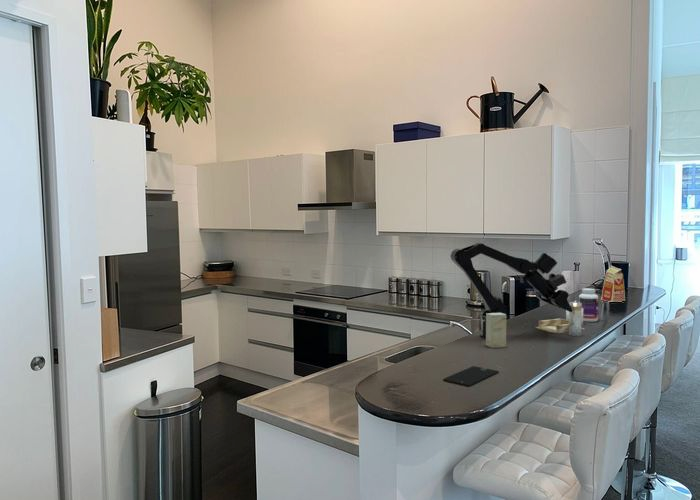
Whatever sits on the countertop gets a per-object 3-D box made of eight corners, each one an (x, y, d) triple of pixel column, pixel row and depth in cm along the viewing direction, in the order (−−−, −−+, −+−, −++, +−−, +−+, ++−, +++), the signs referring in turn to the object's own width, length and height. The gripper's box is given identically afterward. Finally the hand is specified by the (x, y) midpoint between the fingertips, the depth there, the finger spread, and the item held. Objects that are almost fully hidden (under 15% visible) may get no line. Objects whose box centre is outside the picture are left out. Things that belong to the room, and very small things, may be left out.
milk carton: (600, 301, 289) (601, 265, 287) (614, 300, 291) (614, 264, 290) (613, 303, 280) (614, 266, 279) (627, 302, 283) (627, 265, 282)
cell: (575, 336, 204) (575, 302, 203) (566, 334, 208) (566, 300, 208) (583, 335, 206) (584, 301, 205) (574, 333, 210) (574, 300, 210)
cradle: (555, 333, 210) (555, 326, 210) (535, 328, 221) (535, 321, 221) (584, 329, 216) (584, 322, 216) (564, 324, 227) (564, 318, 227)
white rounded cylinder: (575, 325, 224) (575, 309, 224) (562, 323, 231) (562, 307, 230) (586, 324, 227) (587, 308, 227) (573, 321, 234) (573, 305, 233)
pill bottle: (600, 322, 231) (600, 290, 230) (581, 322, 232) (581, 290, 231) (595, 319, 239) (595, 288, 238) (577, 318, 240) (577, 287, 239)
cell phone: (499, 373, 159) (499, 370, 159) (469, 388, 146) (469, 385, 146) (473, 368, 165) (473, 365, 165) (442, 382, 152) (442, 378, 152)
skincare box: (491, 348, 188) (491, 315, 188) (485, 345, 193) (485, 313, 192) (506, 346, 190) (507, 314, 189) (500, 344, 194) (500, 312, 194)
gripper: (563, 270, 196) (592, 298, 197) (542, 265, 215) (568, 291, 216) (543, 291, 196) (571, 319, 197) (524, 285, 215) (550, 310, 216)
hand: (566, 309), depth 207 cm, fingers open, 9 cm apart
